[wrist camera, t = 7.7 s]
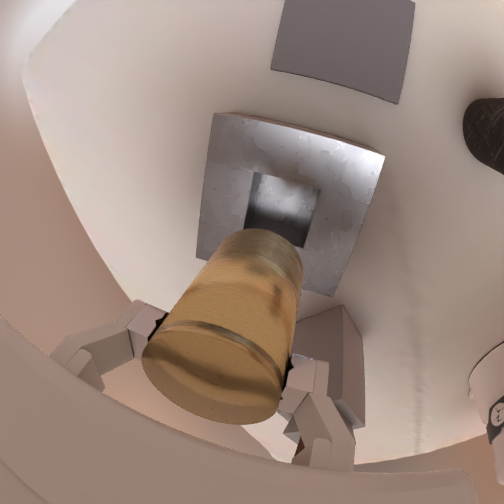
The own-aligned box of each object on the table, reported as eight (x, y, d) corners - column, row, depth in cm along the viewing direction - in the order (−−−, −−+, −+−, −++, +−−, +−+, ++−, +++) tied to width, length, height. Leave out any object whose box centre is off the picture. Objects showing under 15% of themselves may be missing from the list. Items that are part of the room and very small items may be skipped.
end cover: (315, 243, 14) (299, 371, 7) (290, 315, 16) (261, 435, 9) (221, 217, 14) (134, 314, 8) (211, 291, 17) (148, 395, 10)
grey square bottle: (295, 322, 35) (267, 451, 20) (342, 304, 32) (339, 443, 17) (318, 353, 37) (301, 471, 22) (362, 338, 34) (363, 464, 19)
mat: (413, 5, 14) (415, 2, 14) (395, 104, 20) (398, 104, 20) (293, -27, 16) (292, -31, 15) (271, 69, 22) (270, 68, 21)
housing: (373, 148, 23) (385, 156, 19) (332, 270, 30) (332, 297, 26) (232, 112, 25) (213, 113, 20) (213, 236, 32) (195, 257, 28)
